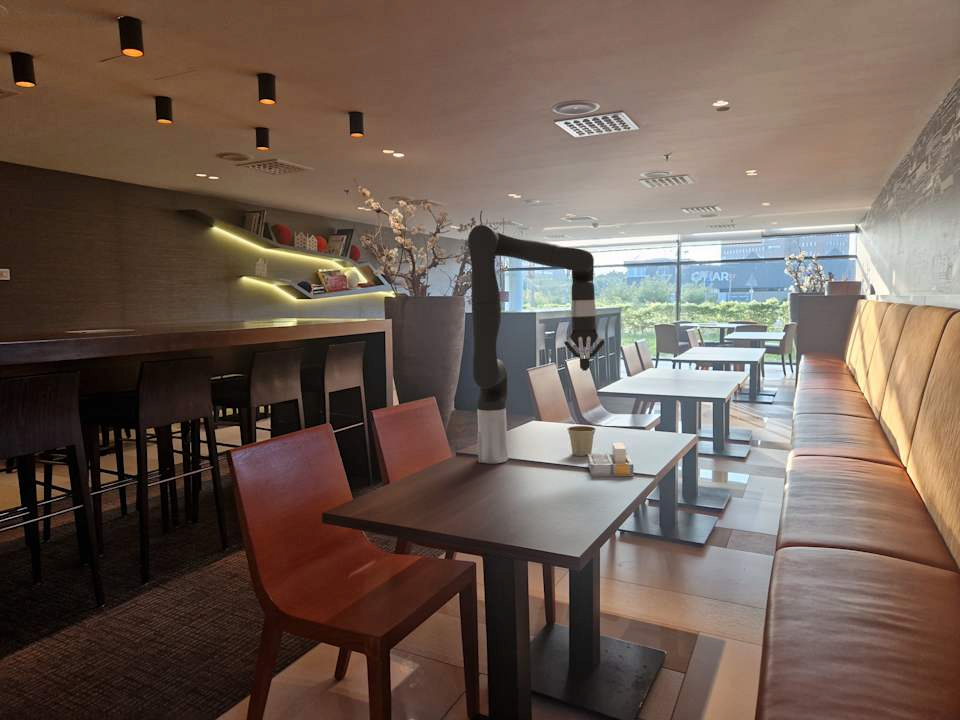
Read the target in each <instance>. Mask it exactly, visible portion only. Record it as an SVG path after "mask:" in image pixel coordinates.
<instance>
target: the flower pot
mask: <svg viewBox="0 0 960 720" xmlns="http://www.w3.org/2000/svg"><path fill="white" fill-rule="evenodd" d="M596 430H597V429H596V428H595V427H594V426H589V425H588V426H587V425H576V426H570V427H567V431H568V435H569V438H570V447H571V451H572V452H571V453H572V455H574V456H575V457H576V456H577V457H585V456H587V457H588V454H592V450H593V441H594V435H595V432H596Z"/></svg>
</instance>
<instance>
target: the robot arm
mask: <svg viewBox="0 0 960 720" xmlns="http://www.w3.org/2000/svg"><path fill="white" fill-rule="evenodd" d="M467 238H468V239H467V245H468V251H469V257H470V265H471V315H472V316H471V317H472V334H473V335H472V336H473V362H472V378H473V380H474V383H475V384H476V385H477V387H479V388H480V393H479V396H478V399H477V402H476V405H477V407H476V408H477V410H476V411H477V435H476V436H477V453H478V455H477V456H478V458H477V459H478V463H483V464H490V465H492V464H501V463H505V462H507V461H508V457H509V456H508V453H509V452H508V431H507V428H508V427H507V408H506V407H507V406H506V405H507V398H508V371H507V367H506V365H505V363H504V362H503V361H502V360H501V359H498V355H497V353H498V352H497V342H498V341H497V340H498V335H499V331H500V327H501V320H502V307H501V305H502V303H501V301H502V300H501V295H500V289H499V288H500V287H499V283H498V280H497V273H496V256H497V257H505V258H506V257H508V258H514V259H518V260H522V261H527V262H530V263H533V264H537V265H540V266H541V265H542V266H544V267H545V266H546V267H550V268H560V269H565V270H569V271H571V281H572V284H571V306H570V310H571V311H570V315H571V317H570V319H571V321H570V322H571V333H570V336H569V338H568V339H566V340H564V342H563V344H564V345H565V347H567V349H568V351H570V353H571V354H572V355H573V356H574V358H575V357H576V358H578V359H579V367H580V369H581V370H582V371H588V369H590V359H591V358H592V357H593V358H594V357H595V356H596V355H597V354H598V352H599V351H600V350H601V348H602V347H603V346H604V345H605V340H604V339H602V338H600V337H599V335H598V332H597V308H596V301H595V297H596V295H595V283H594V272H595V271H594V268H595V265H594V264H595V259H594V255H593V254H592V252H591V251H588V250H586V249H583V248H578V247H571V246H570V247H569V246H563V245H560V244H555V243H551V242H545V241H542V240H534V239H533V240H532V239H523V238H517V237H513V236H509V235H506V234H504V233H501V232H499V231H496V230H495V229H494V228H492V227H490V226H489V225H487V224H478V225H476V226H474V227H473V228H472V229H471V230H470V232H469V234H468V237H467ZM573 343H574V344H575V346H576V347H577V348H578V352H577V351H576V350H575V349H574V347H573ZM594 344H596V345H595V347H594V348H593V349H592V351H591V347H592V346H593V345H594ZM584 348H585V349H584Z"/></svg>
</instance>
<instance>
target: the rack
mask: <svg viewBox="0 0 960 720" xmlns="http://www.w3.org/2000/svg"><path fill="white" fill-rule="evenodd" d="M587 466H588V470H589V473H590V477H593V478H594V477H597V478H598V477H599V478H601V477H603V478H605V477H611V478H612V477H634V463H633V461H632V459H631V457H630V456H629V454H628V453H627V452H626V463H615V464H613V454H612V453H591V454H588V456H587Z"/></svg>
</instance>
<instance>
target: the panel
mask: <svg viewBox="0 0 960 720" xmlns="http://www.w3.org/2000/svg"><path fill="white" fill-rule="evenodd" d="M611 447H612V452H611V454H613V464H615V463H626V453H627V448H626V446H625V445H624V443H623V442H612V446H611Z"/></svg>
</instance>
